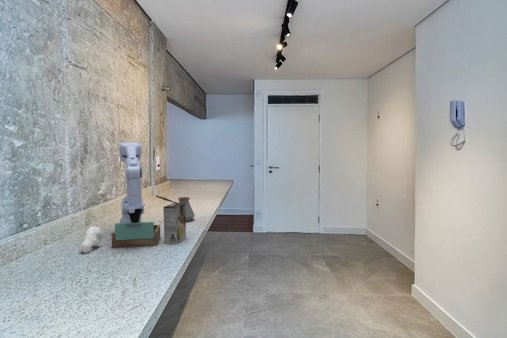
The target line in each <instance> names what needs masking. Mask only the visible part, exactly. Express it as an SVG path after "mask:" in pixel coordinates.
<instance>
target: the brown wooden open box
mask: <svg viewBox="0 0 507 338" xmlns="http://www.w3.org/2000/svg"><path fill="white" fill-rule="evenodd" d="M160 240H161V224H154V238H150V239H131V240H115V230H113V232H112V233H111V249H118V248H121V249H122V248H138V247H156V246H158V245H159V242H160Z"/></svg>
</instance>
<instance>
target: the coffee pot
mask: <svg viewBox="0 0 507 338" xmlns="http://www.w3.org/2000/svg"><path fill="white" fill-rule="evenodd" d="M156 198H159V199H161V200H162V201H166V202H170V203H180V204H185V216H186V223H187V221H188V222H191V221H192V220H193V219H194V218H195V213H194V211H193V208H192V206H191V204H190V202H189V200H190V199H191V197H188V196H181V197H178V198H177V200H178V201H173V200H171V199H169V198H166V197H164V196H163V197H162V196H159V195H155V198H154V200H156Z"/></svg>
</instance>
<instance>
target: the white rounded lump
mask: <svg viewBox="0 0 507 338" xmlns="http://www.w3.org/2000/svg"><path fill="white" fill-rule="evenodd" d="M103 233H104V232H103V231H102V229H101V228H100V227H97V226H95V225H93V226H90V227H88V228H87V229H86V231H85V233H84V237H83V238H82V243H81V244H80V248H79V249H80V250H81V251H82V252H83V253H84V254H87V253H88V252H91V251H92V250H93V247H94V246H97V247H98V248H101V247H102V239H103Z"/></svg>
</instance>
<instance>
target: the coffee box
mask: <svg viewBox="0 0 507 338" xmlns="http://www.w3.org/2000/svg"><path fill="white" fill-rule="evenodd" d="M163 234H164V244H174V245H178V244H180V243H181V242H182V241H184V240H185V239H186V238H187V222H186V216H185V204H180V203H179V202H178V203H173V202H171V203H170V204H168V205H164V206H163Z"/></svg>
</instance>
